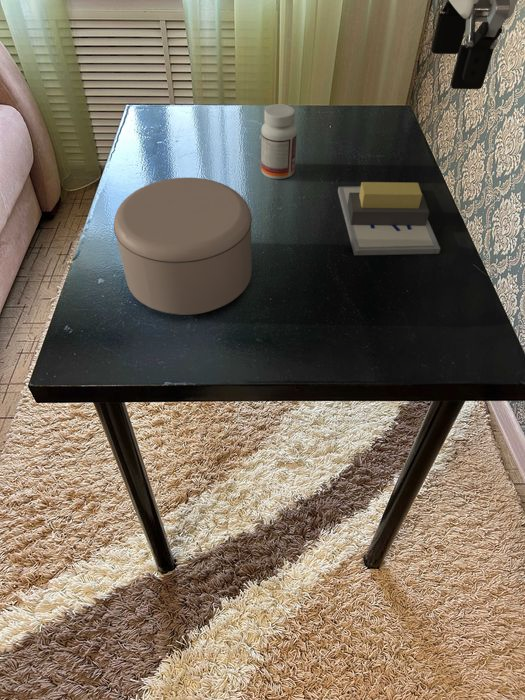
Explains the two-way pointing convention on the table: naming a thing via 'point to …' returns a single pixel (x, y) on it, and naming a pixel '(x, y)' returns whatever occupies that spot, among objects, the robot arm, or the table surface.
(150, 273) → the container
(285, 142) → the pill bottle
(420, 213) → the eraser
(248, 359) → the table surface
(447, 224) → the table surface
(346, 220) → the whiteboard
